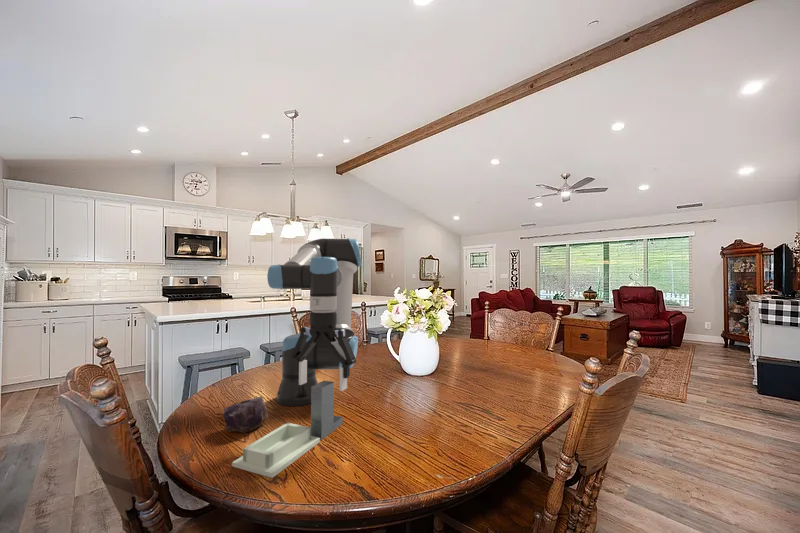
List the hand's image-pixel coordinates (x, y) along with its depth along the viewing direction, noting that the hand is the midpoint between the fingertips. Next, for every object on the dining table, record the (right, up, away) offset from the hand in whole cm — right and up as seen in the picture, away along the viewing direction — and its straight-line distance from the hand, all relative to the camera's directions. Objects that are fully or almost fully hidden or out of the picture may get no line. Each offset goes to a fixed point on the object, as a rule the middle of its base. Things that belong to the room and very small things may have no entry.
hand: (322, 386), depth 99 cm
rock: (-23, -14, +3) cm, 27 cm away
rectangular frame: (-9, -13, -10) cm, 19 cm away
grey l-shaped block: (+1, -14, +3) cm, 14 cm away
